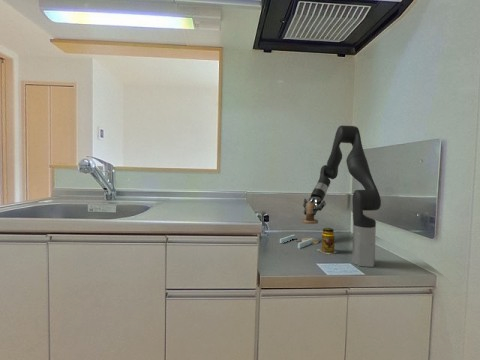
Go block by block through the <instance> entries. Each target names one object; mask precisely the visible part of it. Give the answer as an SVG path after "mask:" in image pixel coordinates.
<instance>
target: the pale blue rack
mask: <svg viewBox="0 0 480 360" xmlns="http://www.w3.org/2000/svg"><path fill="white" fill-rule="evenodd" d="M310 238H311V239H308V240H306V241H303V242H302V239H299V240H300V241H298V242H297V249H302V248H304V247H306V246H309V245H312V244H311V243H312V242H313V238H312V237H310ZM292 239H296V235H295V234H292V235H288V236H285V237H282V238H279V244H280V243H282V244H284V242H285V243H287V241H288V242H291V241H293V240H292ZM290 240H291V241H290Z"/></svg>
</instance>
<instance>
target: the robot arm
mask: <svg viewBox="0 0 480 360" xmlns="http://www.w3.org/2000/svg"><path fill="white" fill-rule="evenodd" d="M342 143H343V144H351V145H352V148H351V150H350V152H349V153H348V155H347V157H346V159H345V160H346V161H345V162H346V166H347V169H348V173H349V174H350V176H352V177H353V178H354V179H355V180H356V181H357V182H359V183H360V184H361V185H362V186H363V188H364V189H356V190H354V191H353V193H352V200H351V201H352V221H353V222H352V223H353V224H352V262H353V264H355V265H357V266H358V267H369V268H370V267H371V268H372V267H373V268H374V266H375V265H376V229H377V227H376V226H377V222H376V220H375V219H374V218H371V217H369V216H367V215H365V214H364V211H372V212H373V211H378V210H379V209H380V208H381V206H382V199H381V195H380V192H379V190H378V188H377V186H376V183H375V181H374V179H373V176H372V173H371V170H370V167H369V164H368V159H367V158H366V154H365V151H364V148H363V144H362V138H361V133H360V130H359V128H358V127H357V126H354V125H339V126H338V127H337V129H336V132H335V135H334V139H333V143H332V148H331V151H330V155H329V157H328V159H327V161H326V164H325V165H322V166H321V168H320V171H319V174H320V175H319V179H318V180H317V183H316V185H315V186H314V188H313V190H312V192H311V194H310V196H309V198H308V199H306V198H304V199H303V205H302V206H303V208H304V210H303V214H304V216H306V203H314V210H313V212H312V216H314V217H315V216H316V214H317V213H318V211H320V212H321V211H322V210H323V209H324V207H325V206H326V205H327V202H326V200H324V199H325V196H326V195H327V191H328V189H329V187H330V184H331V182H332V181H331V180H335V179H336V178H337V176H338V174H339V173H338V172H339V166H340V163H341V162H342V160H343V152H342V150H341V147H340V146H341V144H342Z"/></svg>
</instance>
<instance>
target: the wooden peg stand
mask: <svg viewBox="0 0 480 360" xmlns="http://www.w3.org/2000/svg"><path fill="white" fill-rule="evenodd" d="M314 209H315V206H314V203H306V215H305V218H303V219H301V223H303V224H308V225H315V224H319V220H318V219H316V218H315V215H314V216H312V212H313V210H314Z"/></svg>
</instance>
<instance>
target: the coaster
mask: <svg viewBox="0 0 480 360" xmlns="http://www.w3.org/2000/svg"><path fill="white" fill-rule="evenodd" d="M311 238H312V237H305V238H301V240H302V242H303V241H306V240H308V239H311ZM319 243H320V240H319V238H313V242H312V243H311V244H310V245H316V244H319Z"/></svg>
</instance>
